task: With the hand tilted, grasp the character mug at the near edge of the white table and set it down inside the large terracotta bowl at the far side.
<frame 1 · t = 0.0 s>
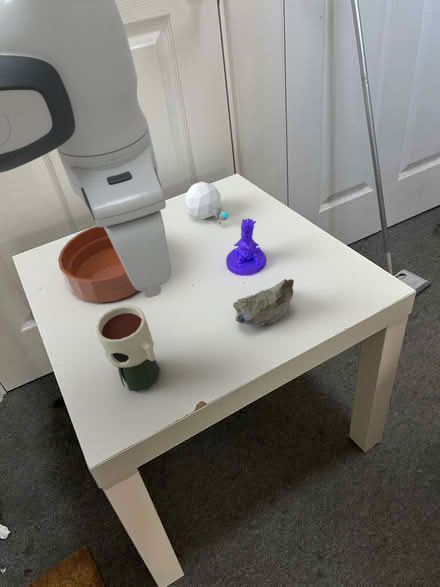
hand: (142, 267, 55), 24 cm above the table, tool pointing down, fingers open, 8 cm apart
faceted white ball: (210, 218, 103), on the table
figurine: (246, 263, 91), on the table
character mug: (141, 377, 73), on the table
rock: (262, 314, 81), on the table
bowl: (113, 272, 93), on the table
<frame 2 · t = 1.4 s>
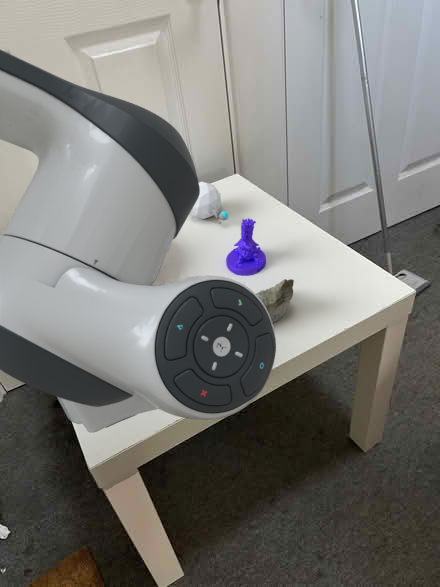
hand: (146, 349, 52), 19 cm above the table, tool tilted 45°, fingers open, 8 cm apart
nothing on the table moved.
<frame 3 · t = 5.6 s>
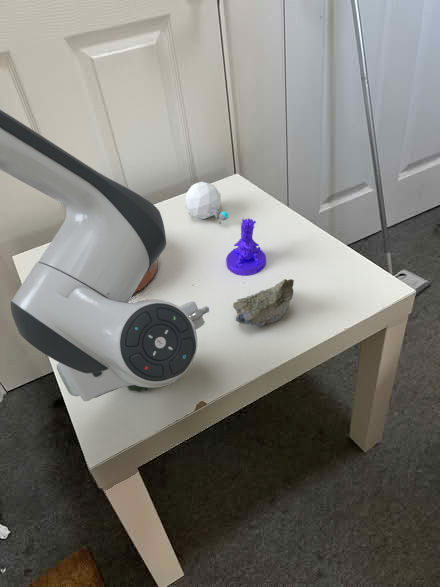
hand: (128, 345, 69), 7 cm above the table, tool tilted 45°, fingers closed on character mug, 7 cm apart
character mug: (141, 377, 73), on the table, touching gripper
everything else where it was.
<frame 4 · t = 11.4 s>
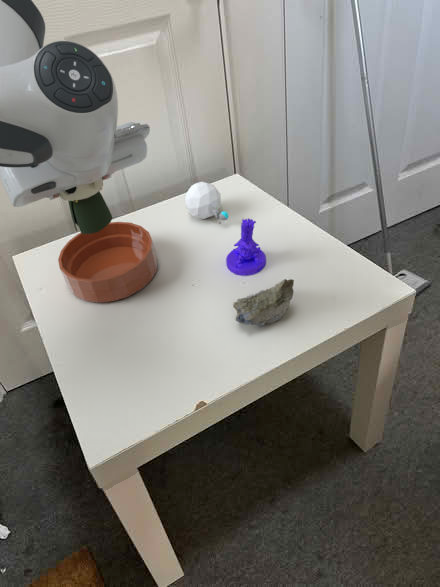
hand: (78, 184, 71), 24 cm above the table, tool tilted 45°, fingers closed on character mug, 7 cm apart
character mug: (95, 226, 76), point 17 cm above the table, touching gripper
everything else where it was.
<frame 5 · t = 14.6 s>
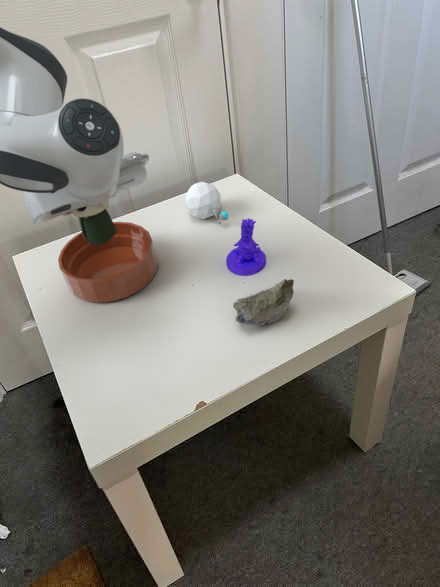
hand: (87, 202, 82), 16 cm above the table, tool tilted 45°, fingers closed on character mug, 7 cm apart
character mug: (101, 238, 87), point 9 cm above the table, touching gripper
everything else where it was.
when the fingers open (8 cm above the table, at t = 17.5 s): character mug stays where it is, resting on bowl.
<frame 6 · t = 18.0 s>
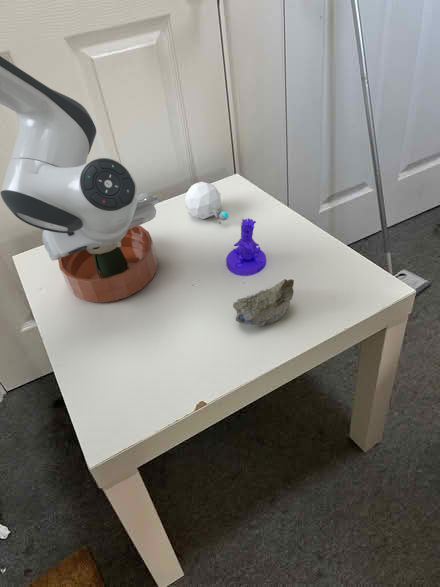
hand: (100, 237, 88), 9 cm above the table, tool tilted 45°, fingers open, 8 cm apart
character mug: (113, 271, 93), resting on bowl
everything else where it was.
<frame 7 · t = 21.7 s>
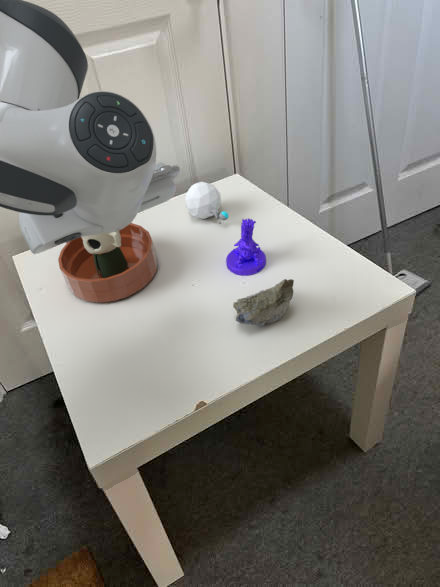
hand: (99, 223, 66), 22 cm above the table, tool tilted 45°, fingers open, 8 cm apart
nothing on the table moved.
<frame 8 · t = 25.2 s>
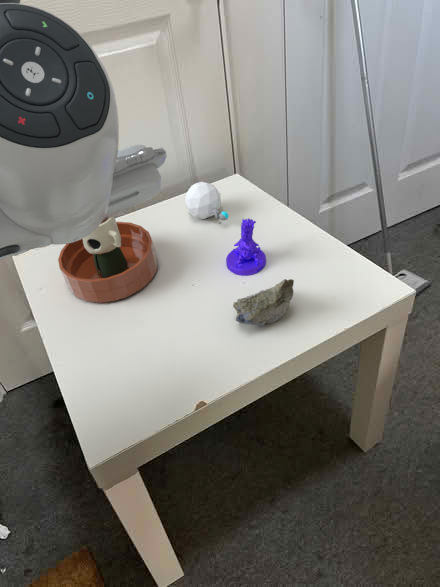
hand: (61, 229, 50), 31 cm above the table, tool tilted 45°, fingers open, 8 cm apart
nothing on the table moved.
at the end: character mug inside the target area in the bowl (0.1 cm from its centre), point 0.4 cm above the bowl's base; character mug tilted 0°; the gripper is holding nothing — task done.
